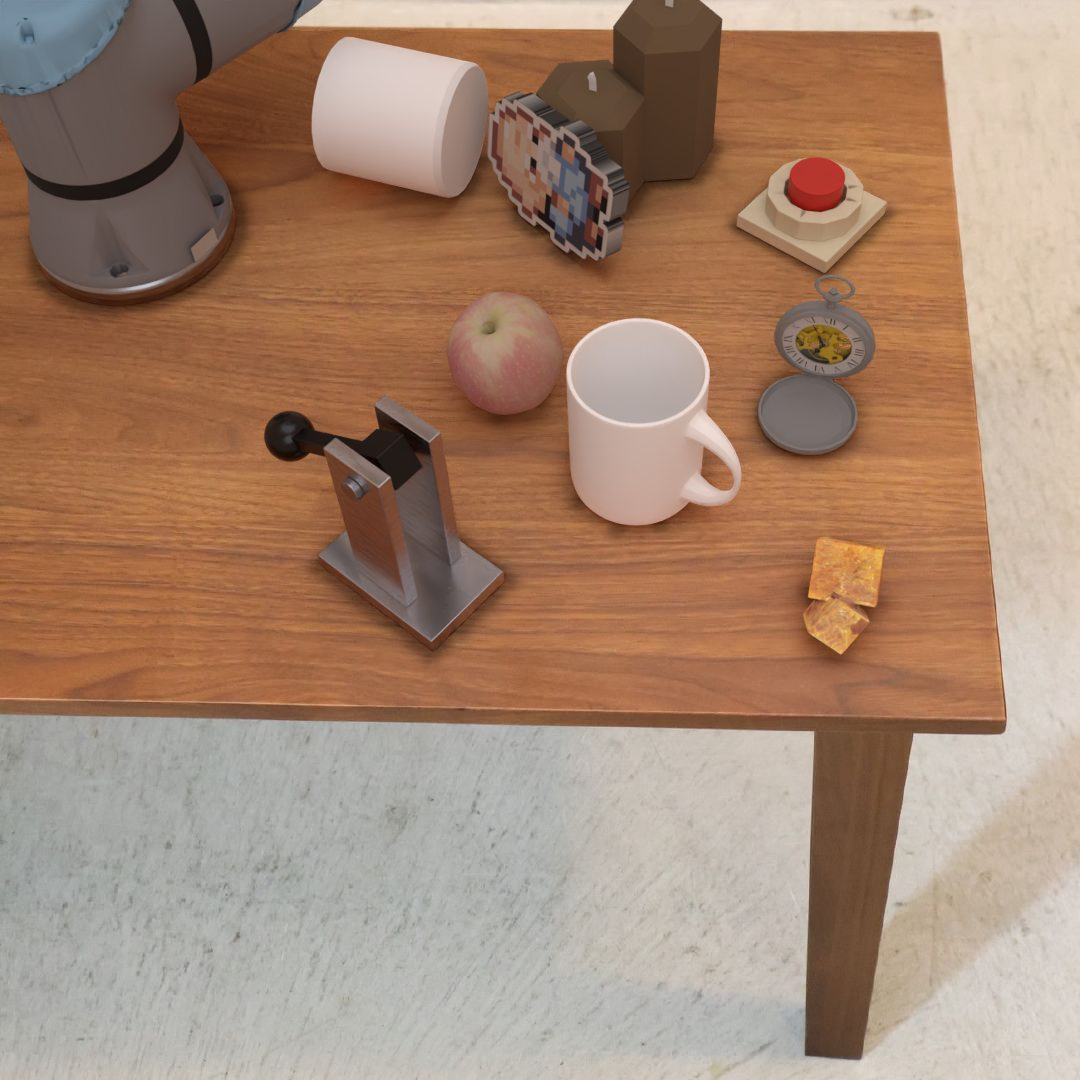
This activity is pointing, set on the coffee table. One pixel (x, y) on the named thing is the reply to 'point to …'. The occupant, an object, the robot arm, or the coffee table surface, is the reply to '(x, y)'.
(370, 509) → the bracket
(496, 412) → the apple
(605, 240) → the toy
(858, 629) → the pyrite
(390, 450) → the lever
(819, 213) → the housing
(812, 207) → the button
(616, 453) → the mug
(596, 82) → the candle
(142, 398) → the coffee table surface
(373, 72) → the white cylinder
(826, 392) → the pocket watch
